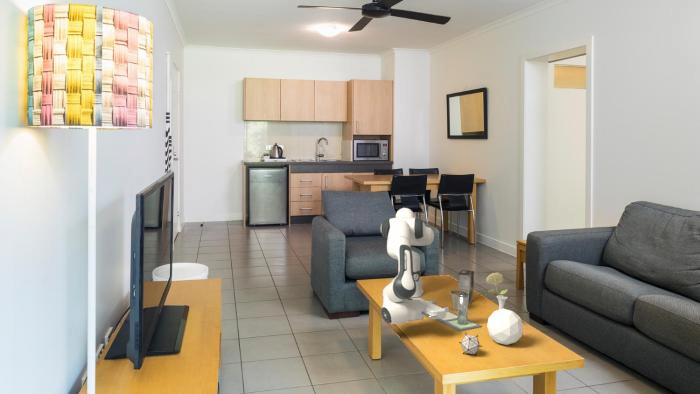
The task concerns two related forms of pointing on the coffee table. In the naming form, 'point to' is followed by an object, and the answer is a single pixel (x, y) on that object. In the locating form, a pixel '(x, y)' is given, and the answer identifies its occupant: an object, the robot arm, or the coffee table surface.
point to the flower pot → (455, 298)
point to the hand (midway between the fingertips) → (441, 305)
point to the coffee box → (466, 283)
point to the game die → (470, 344)
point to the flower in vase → (495, 280)
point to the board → (452, 322)
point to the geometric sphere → (505, 326)
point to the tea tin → (462, 308)
